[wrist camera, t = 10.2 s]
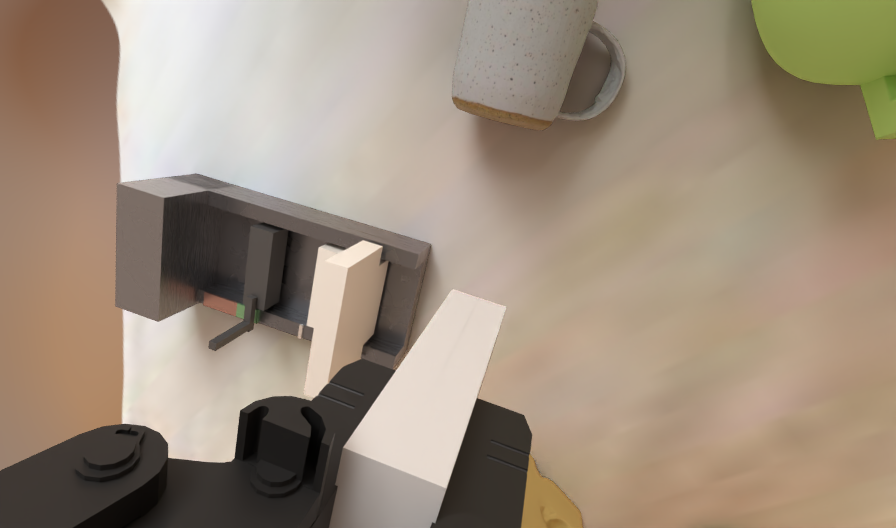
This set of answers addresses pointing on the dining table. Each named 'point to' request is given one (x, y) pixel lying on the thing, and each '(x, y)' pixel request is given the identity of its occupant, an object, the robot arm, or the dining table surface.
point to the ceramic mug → (529, 60)
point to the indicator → (259, 277)
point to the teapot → (837, 48)
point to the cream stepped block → (342, 308)
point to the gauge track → (226, 250)
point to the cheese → (547, 503)
